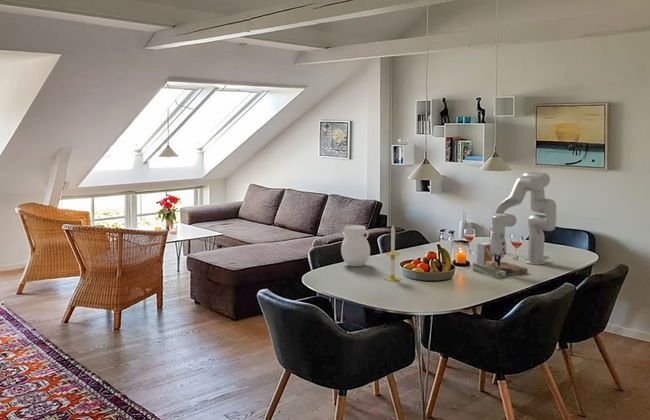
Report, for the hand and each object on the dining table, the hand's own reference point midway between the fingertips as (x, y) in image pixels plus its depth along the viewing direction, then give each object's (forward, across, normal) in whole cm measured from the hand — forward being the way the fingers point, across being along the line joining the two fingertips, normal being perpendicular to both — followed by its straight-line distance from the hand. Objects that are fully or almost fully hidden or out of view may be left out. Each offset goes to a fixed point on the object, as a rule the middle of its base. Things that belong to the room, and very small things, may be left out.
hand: (497, 265), depth 389 cm
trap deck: (+4, 0, -3) cm, 5 cm away
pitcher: (+5, +56, +67) cm, 88 cm away
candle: (+5, +16, +65) cm, 67 cm away
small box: (+5, +23, -10) cm, 25 cm away
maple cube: (+2, 0, +4) cm, 4 cm away
